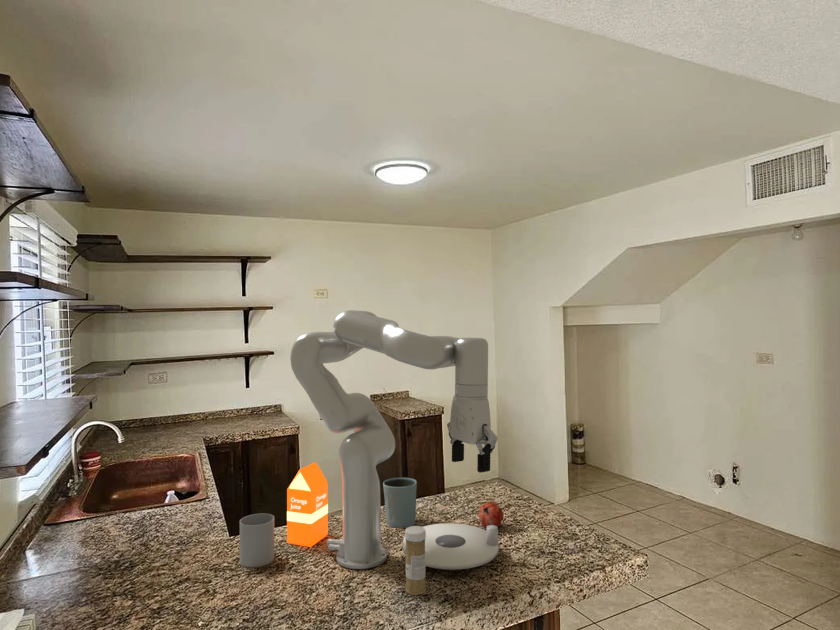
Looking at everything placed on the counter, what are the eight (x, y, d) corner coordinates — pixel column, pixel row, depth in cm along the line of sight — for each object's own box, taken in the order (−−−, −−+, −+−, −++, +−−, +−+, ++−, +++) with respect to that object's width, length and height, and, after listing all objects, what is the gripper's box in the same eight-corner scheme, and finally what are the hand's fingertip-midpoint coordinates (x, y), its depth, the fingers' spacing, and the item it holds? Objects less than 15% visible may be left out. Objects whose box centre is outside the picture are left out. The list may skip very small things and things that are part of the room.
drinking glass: (416, 529, 147) (416, 487, 148) (381, 529, 147) (381, 487, 148) (417, 516, 157) (417, 477, 158) (384, 516, 157) (384, 477, 158)
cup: (280, 559, 128) (280, 519, 129) (250, 570, 122) (250, 528, 123) (263, 549, 134) (263, 511, 135) (233, 560, 128) (233, 519, 129)
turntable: (394, 574, 119) (394, 542, 119) (411, 534, 143) (411, 507, 143) (498, 581, 115) (498, 547, 116) (498, 538, 139) (498, 510, 139)
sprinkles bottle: (404, 586, 114) (404, 525, 115) (425, 585, 115) (424, 524, 115) (406, 597, 110) (405, 533, 110) (427, 595, 110) (426, 532, 111)
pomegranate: (486, 528, 153) (466, 514, 148) (498, 506, 155) (479, 491, 150) (503, 539, 147) (483, 525, 142) (516, 517, 149) (496, 501, 144)
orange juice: (286, 543, 138) (286, 468, 139) (304, 531, 146) (304, 460, 147) (311, 547, 135) (311, 471, 136) (328, 534, 144) (328, 462, 144)
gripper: (436, 388, 123) (435, 459, 122) (482, 397, 108) (481, 478, 108) (462, 386, 127) (461, 455, 126) (509, 395, 112) (508, 473, 112)
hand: (470, 466), depth 117 cm, fingers open, 9 cm apart
